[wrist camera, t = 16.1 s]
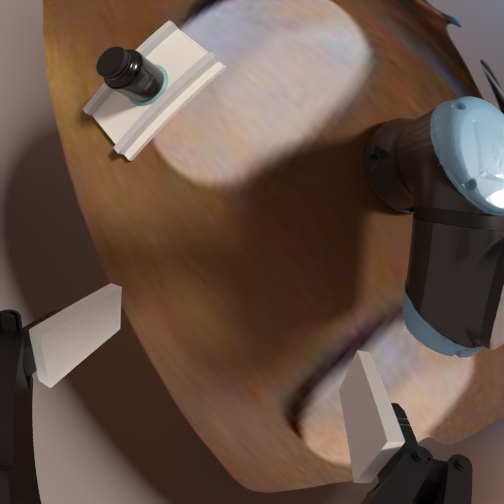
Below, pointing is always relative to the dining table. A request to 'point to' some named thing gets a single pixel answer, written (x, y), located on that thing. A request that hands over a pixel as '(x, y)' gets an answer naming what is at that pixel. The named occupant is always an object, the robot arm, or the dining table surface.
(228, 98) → the dining table surface
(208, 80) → the rail cradle
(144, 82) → the supplement bottle
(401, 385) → the dining table surface
